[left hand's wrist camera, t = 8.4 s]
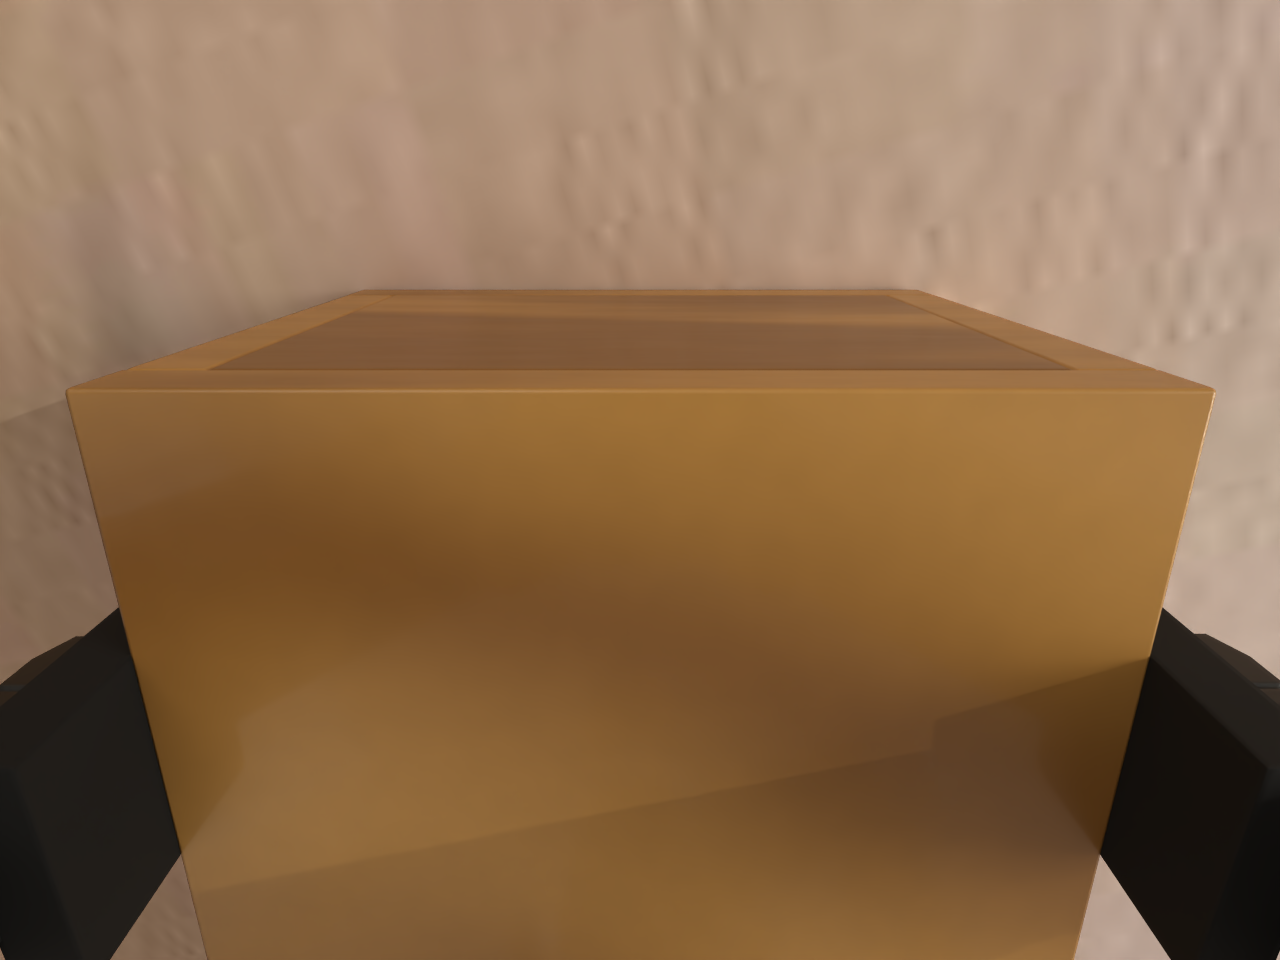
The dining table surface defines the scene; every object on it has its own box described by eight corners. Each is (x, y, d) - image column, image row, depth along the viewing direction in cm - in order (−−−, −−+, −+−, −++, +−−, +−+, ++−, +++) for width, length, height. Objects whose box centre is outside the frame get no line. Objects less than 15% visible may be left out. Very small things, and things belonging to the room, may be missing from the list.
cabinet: (829, 1062, 23) (931, 1531, 15) (452, 1062, 23) (349, 1530, 15) (919, 289, 15) (1219, 388, 7) (361, 289, 15) (62, 388, 7)
